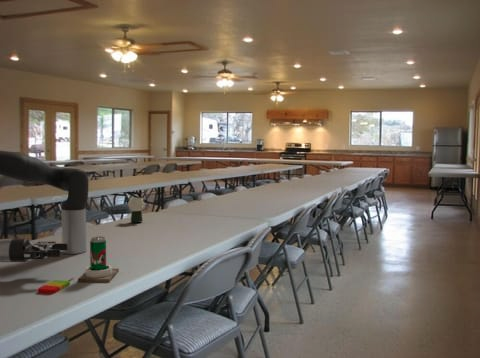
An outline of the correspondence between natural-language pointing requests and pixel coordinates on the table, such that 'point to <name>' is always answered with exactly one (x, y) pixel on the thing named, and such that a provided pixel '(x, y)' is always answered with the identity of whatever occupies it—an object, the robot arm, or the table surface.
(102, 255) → the soda can
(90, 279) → the socket plate
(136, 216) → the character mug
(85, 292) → the table surface
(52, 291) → the popsicle
